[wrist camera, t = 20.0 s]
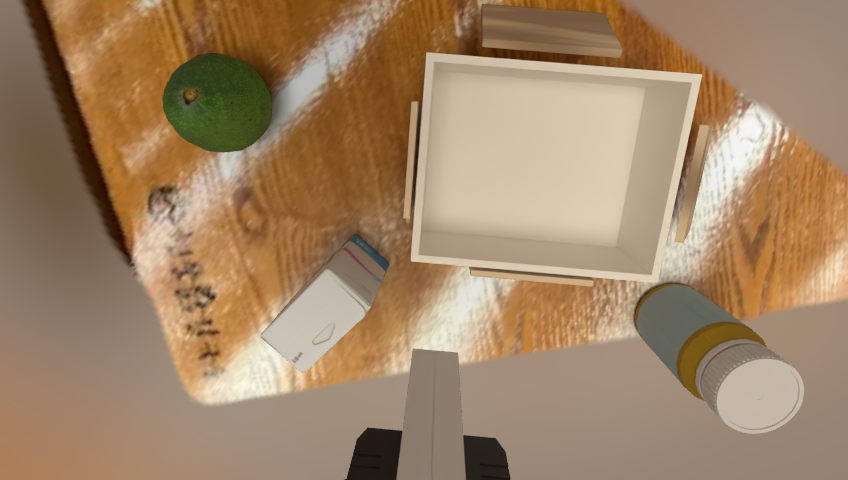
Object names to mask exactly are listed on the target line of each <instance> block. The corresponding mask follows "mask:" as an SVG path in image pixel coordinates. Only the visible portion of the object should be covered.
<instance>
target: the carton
mask: <svg viewBox="0 0 848 480" xmlns="http://www.w3.org/2000/svg"><path fill="white" fill-rule="evenodd" d="M701 78H702V74H689V73H677V72H664V71H652V70H640V69H627V68H615V67H602V66H590V65H577V64H565V63H552V62H540V61H528V60H515V59H503V58H490V57H478V56H465V55H453V54H440V53H428V52H426V65H425V78H424V92H423V105H422V103H420V102H415V101H412V102H411V116H410V130H409V145H408V159H407V173H406V187H405V202H404V216H403V218H410V216H411V212H412V209H413V206H414V200H415V210H414V223H413V237H412V250H411V261H413V262H424V263H435V264H447V265H458V266H469V268H470V274H471V276H479V277H490V278H502V279H513V280H525V281H536V282H547V283H559V284H570V285H582V286H593V284H594V280H593V279H592V278H591V277H596V278H607V279H619V280H630V281H642V282H653V283H658V279H659V274H660V270H661V265H662V260H663V255H664V251H665V246H666V241H667V237H668V232H669V227H670V223H671V218H672V213H673V209H674V204H675V199H676V195H677V190H678V185H679V181H680V176H681V171H682V167H683V162H684V157H685V152H686V148H687V143H688V138H689V134H690V129H691V124H692V120H693V115H694V110H695V106H696V101H697V96H698V92H699V87H700V82H701ZM421 108H422V118H421ZM420 121H421V131H420ZM419 134H420V144H419ZM418 147H419V158H418ZM417 161H418V171H417ZM416 174H417V184H416ZM415 187H416V197H415Z"/></svg>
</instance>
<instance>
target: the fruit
mask: <svg viewBox="0 0 848 480" xmlns="http://www.w3.org/2000/svg"><path fill="white" fill-rule="evenodd" d="M163 109H164V112H165V115H166V117H167V119H168V121H169V122H170V124H171V125H172V126H173V127H174V129H175V130H176V131H177V133H178V134H179V135H180V136H181V137H183V138H184V139H186V140H187V141H188V142H190V143H192V144H194V145H196V146H198V147H200V148H202V149H205V150H207V151H214V152H233V151H240V150H243V149H245V148H247V147H249V146H251V145H252V144H253V143H254V142H255V141H256V140H257V139H259V138H260V137H261V136H262V135H263V134H264V132H265V131H266V129H267V128H268V127H269V124H270V120H271V117H272V103H271V97H270V93H269V91H268V88H267V86H266V84H265V82H264V81H263V79H262V78H261V77H260V75H259V74H258V72H257V71H256V70H255V69H254V68H253V67H252V66H250V65H249V64H247V63H246V62H244V61H241V60H239V59H236V58H233V57H230V56H226V55H222V54H215V53H209V54H203V55H198V56H196V57H194V58H193V59H191V60H189V61H188V62H186V63H184V64H182V65H181V66H179V67H178V68H177V69H176V70H175V71H174V72H173V73H172V75H171V78H170V79H169V81H168V83H167V85H166V87H165V90H164V94H163Z"/></svg>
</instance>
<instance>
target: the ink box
mask: <svg viewBox="0 0 848 480" xmlns="http://www.w3.org/2000/svg"><path fill="white" fill-rule="evenodd" d="M388 266H389V263H388V262H387V261H386V260H385V259H383V258H382V257H381V256H380V255H379V254H378V253H377V252H376V251H375V250H373V249H372V248H371V247H370V246H369V245H368V244H367V243H366V242H364V241H363V240H362V239H361V238H360V237H359V236H357V235H353V236H352V237H351V238H350V239H349V240H348V241H347V242H346V243H345V244H344V245H343V246H342V247H341V248H340V249H339V250H338V251H337V252H336V253H335V254H334V255H333V256H332V257H331V258H330V259H329V260H328V261H327V262H326V263H325V265H324V266H323V267H322V268H321V269H320V270H319V271H318V272H317V273H316V274H315V275H314V276H313V277H312V278H311V279H310V280H309V281H308V282H307V283H306V284H305V285H304V286H303V287H302V288H301V289H300V290H299V291H298V293H297V294H296V295H295V296H294V297H293V298H292V299H291V300H290V302H289V303H288V304H287V305H286V306H285V307H284V309H283V310H282V311H281V312H280V313H279V314H278V315H277V317H276V318H275V319H274V320H273V321H272V323H271V324H270V325H269V326H268V327H267V328H266V329H265V330H264V332H263V333H262V334H261V335H260V337H261V338H262V339H263V340H264V341H266V342H267V343H268V344H269V345H270V346H271V347H273V348H274V349H275V350H276V351H277V352H278V353H280V354H281V355H282V356H283V357H284V358H285V359H287V360H288V361H289V362H290V363H291V364H292V365H293V366H294V367H295V368H296V369H298V370H299V371H301V372H306V371H307V370H308V369H309V368H310V367H311V366H312V365H313V364H314V363H315V362H316V361H317V360H318V359H319V358H320V357H322V356H323V355H324V354H325V353H326V352H327V351H328V350H329V349H330V348H331V347H332V346H333V345H334V344H335V343H337V342H338V341H339V340H340V339H341V338H342V337H343V336H344V335H345V334H346V333H347V332H348V331H349V330H350V329H351V328H353V327H354V326H355V325H356V324H357V323H358V322H359V321H360V320H362V319H363V318H364V317H365V313H366V312H367V311H368V310H369V309H370V308H371V306H372V303H373V301H374V299H375V296H376V294H377V292H378V289H379V287H380V284H381V282H382V280H383V277H384V275H385V272H386V270H387V268H388Z"/></svg>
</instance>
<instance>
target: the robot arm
mask: <svg viewBox="0 0 848 480" xmlns="http://www.w3.org/2000/svg"><path fill="white" fill-rule="evenodd" d="M345 480H510V474H509V469H508V463H507V457H506V453H505V450H504V449H503V448H502V447H501V445H500V444H499V442H498V441H497V440H496V438H487V437H476V436H466V435H463V425H462V409H461V393H460V378H459V361H458V353H455V352H444V351H433V350H422V349H413V352H412V360H411V368H410V376H409V384H408V392H407V400H406V408H405V416H404V423H403V431H397V430H387V429H377V428H367V429H366V430H365V431H364V432H363V433H362V434H361V436H360V437H359V438H358V439H357V441H356V445H355V449H354V453H353V457H352V461H351V464H350V468H349V472H348V476H347V479H345Z"/></svg>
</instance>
